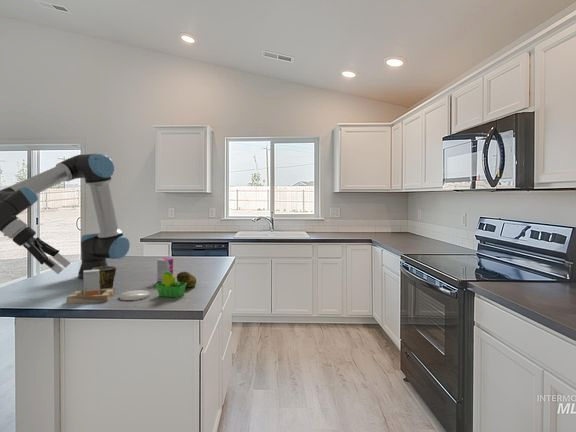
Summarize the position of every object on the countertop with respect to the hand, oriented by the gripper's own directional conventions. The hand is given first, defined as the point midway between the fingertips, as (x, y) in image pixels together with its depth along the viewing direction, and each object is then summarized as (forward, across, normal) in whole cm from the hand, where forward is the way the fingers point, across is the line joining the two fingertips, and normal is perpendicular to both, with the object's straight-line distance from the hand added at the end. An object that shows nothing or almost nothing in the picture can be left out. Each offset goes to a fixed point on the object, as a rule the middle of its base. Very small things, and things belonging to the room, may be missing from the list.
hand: (64, 268), depth 150 cm
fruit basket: (+39, +6, +19) cm, 44 cm away
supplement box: (+38, -23, +18) cm, 48 cm away
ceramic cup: (+19, -14, -1) cm, 24 cm away
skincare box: (+16, 0, -3) cm, 17 cm away
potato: (+44, -7, +25) cm, 52 cm away
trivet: (+28, +2, +9) cm, 30 cm away
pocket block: (+16, 0, -3) cm, 17 cm away
